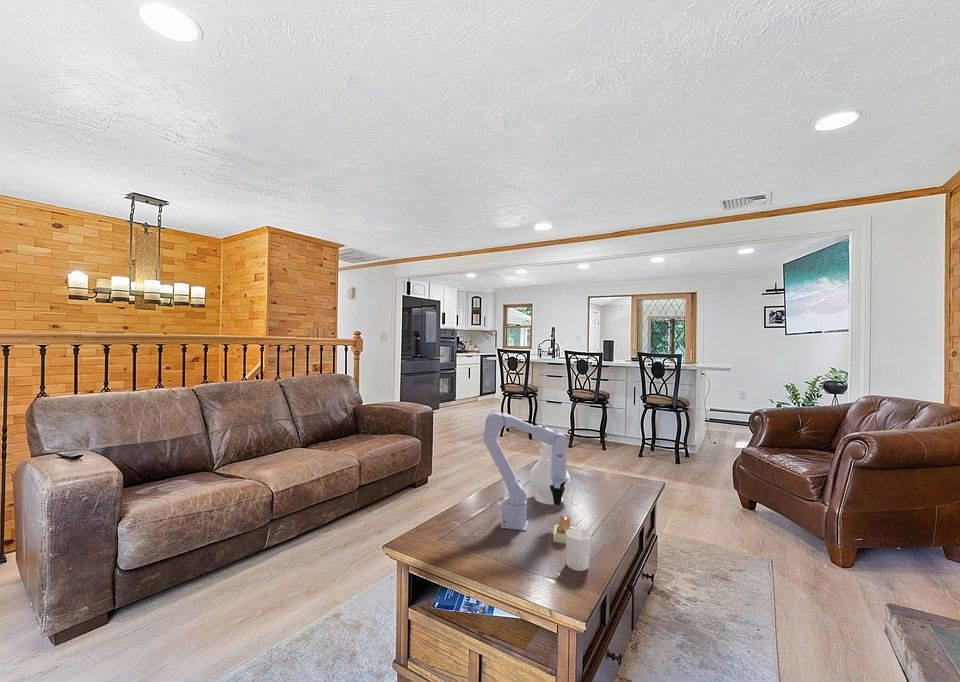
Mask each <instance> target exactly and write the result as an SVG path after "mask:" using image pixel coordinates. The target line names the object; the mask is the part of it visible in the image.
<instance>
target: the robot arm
mask: <svg viewBox="0 0 960 682" xmlns="http://www.w3.org/2000/svg"><path fill="white" fill-rule="evenodd" d="M503 428H504V429H509V428H514V429H517V430H520V431H523V432H526V433H529V434H531V436H532V437H533V438H532V439H534V440H536V441H539V442H540V443H542V442H543V443H545V444H548V445H553V446H552V453H551V476H550V479H551V480H552V482H553V484H554V485H550V490H551V492H552V495H553V501H554V505H553V506H561V504H562V503H561V499H562V497H563V495H564V493H565V492H564V490H565V487H564V485H565V482H566V480H569V477H566V470H567V461H568V460H567V456H568V454H567V451H568V450H567V449H568V447H569V441H568V438H567V437H566V435H565V434H564V433H563V432H561V431H558V430H557V429H554V430H553V429H551V428H548V427H547V426H546V424H544V423H542V424H537V425H533V424H531V423H529V422H527V421H524V420H523V419H520V418H518V417H516V416H514V415H512V414H509V413H506V412H502V411H500V410H497V409H496V410H491V412H490V413H488V416H487V417H486V420H485V423H484V430H483V431H484V432H483V437H482V438H483V442H484V444H485V446H486V448H487V450H488V452H489V454H490V456H491V458H492V460H493V462H494V463H495V466H496V467H497V470H498V471H499V474H500V475H501V477H502V479H503V481H504V484H505V486H506V490H507V491H508V493H509V494H508V495H509V497H508V498H507V500H502V503H501V509H500V510H501V512H500V528H501V529H509V530H516V531H517V530H518V531H526V530H527V529H528V525H529V521H528V520H527V509H528V508H527V507H528V505H527V504H528V503H527V493H526V485H525V484H524V483H523V482H522V481H521V480H520V479H519V478H518V476H517V475H516V474H515V471H514V470H513V468H512V466H511V464H510V462H509V460H508V458H507V455H506V454H505V452H504V450H503V449H502V447H501V444H500V443H499V442H500V441H498V436H499V433H500V432H501V430H502V429H503ZM563 492H564V493H563Z"/></svg>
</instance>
